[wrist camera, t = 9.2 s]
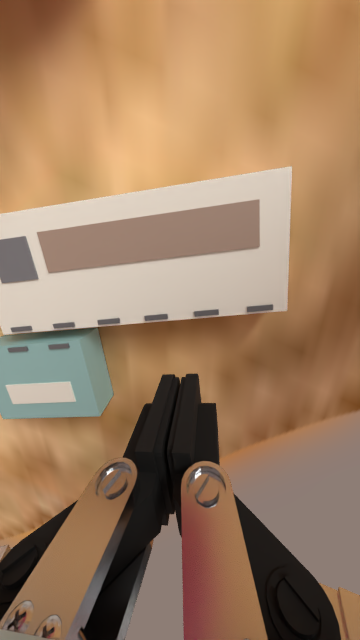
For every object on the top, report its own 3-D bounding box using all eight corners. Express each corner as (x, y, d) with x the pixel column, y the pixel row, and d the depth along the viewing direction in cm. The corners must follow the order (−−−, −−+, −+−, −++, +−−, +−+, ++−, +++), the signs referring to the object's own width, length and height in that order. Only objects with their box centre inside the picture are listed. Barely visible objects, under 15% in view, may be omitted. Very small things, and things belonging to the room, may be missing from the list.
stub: (97, 327, 16) (78, 340, 13) (113, 394, 17) (99, 417, 15) (4, 335, 17) (-30, 349, 14) (28, 398, 18) (1, 420, 16)
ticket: (273, 184, 12) (293, 165, 10) (272, 301, 14) (288, 311, 11) (0, 226, 14) (-42, 220, 12) (32, 323, 16) (2, 335, 14)
